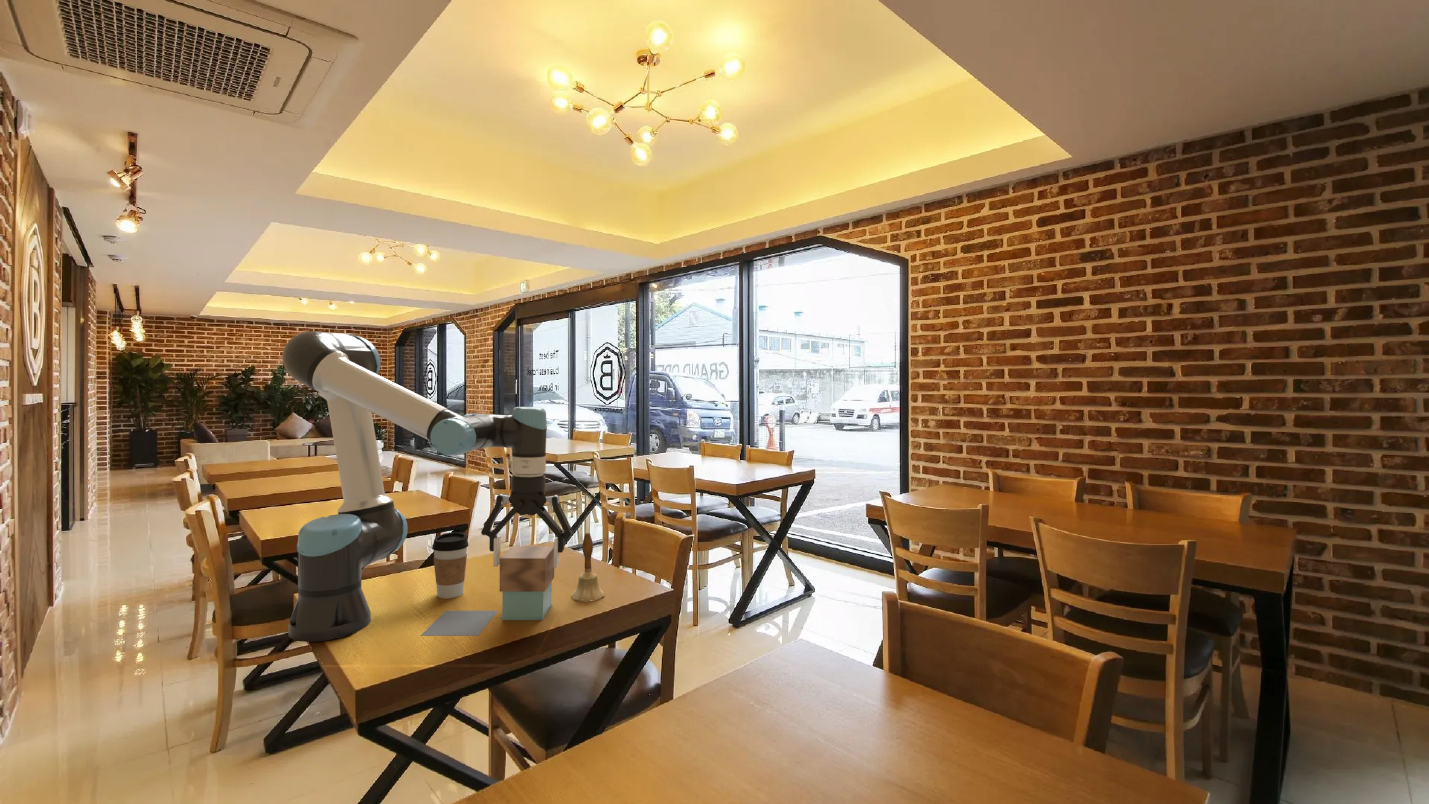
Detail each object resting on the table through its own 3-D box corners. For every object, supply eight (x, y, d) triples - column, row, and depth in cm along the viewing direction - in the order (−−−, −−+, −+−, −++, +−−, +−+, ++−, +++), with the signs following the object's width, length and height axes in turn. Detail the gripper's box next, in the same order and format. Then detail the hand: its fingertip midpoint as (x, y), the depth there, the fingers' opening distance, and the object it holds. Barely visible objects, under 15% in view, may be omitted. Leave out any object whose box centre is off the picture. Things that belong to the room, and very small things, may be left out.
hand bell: (586, 604, 152) (587, 539, 151) (564, 596, 157) (564, 533, 156) (611, 595, 158) (612, 533, 158) (589, 588, 163) (590, 527, 163)
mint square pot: (502, 621, 140) (502, 590, 140) (513, 606, 149) (513, 577, 149) (543, 621, 141) (543, 590, 140) (551, 606, 150) (551, 577, 149)
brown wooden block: (499, 591, 139) (499, 558, 139) (511, 577, 149) (512, 546, 149) (544, 591, 140) (545, 558, 140) (554, 577, 150) (554, 546, 150)
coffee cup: (474, 590, 160) (474, 532, 159) (457, 602, 151) (458, 541, 151) (443, 589, 161) (443, 531, 160) (424, 600, 152) (424, 539, 152)
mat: (420, 637, 131) (420, 635, 131) (445, 612, 145) (445, 610, 145) (478, 637, 132) (478, 635, 132) (498, 612, 146) (498, 610, 146)
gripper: (467, 475, 139) (466, 569, 140) (580, 478, 141) (578, 571, 141) (478, 470, 147) (477, 559, 148) (585, 473, 148) (583, 561, 149)
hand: (526, 565), depth 145 cm, fingers open, 13 cm apart
